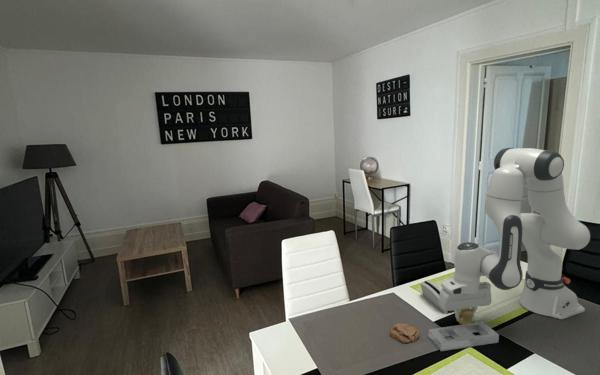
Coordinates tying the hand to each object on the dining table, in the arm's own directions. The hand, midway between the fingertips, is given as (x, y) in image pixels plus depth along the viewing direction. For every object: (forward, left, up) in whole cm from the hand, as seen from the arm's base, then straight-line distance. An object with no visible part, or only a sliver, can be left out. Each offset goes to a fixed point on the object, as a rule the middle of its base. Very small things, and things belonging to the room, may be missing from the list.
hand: (464, 316), depth 124 cm
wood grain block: (0, 0, -2) cm, 2 cm away
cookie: (+26, +2, -3) cm, 26 cm away
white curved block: (+3, -15, -3) cm, 16 cm away
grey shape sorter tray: (+7, +9, -2) cm, 12 cm away
